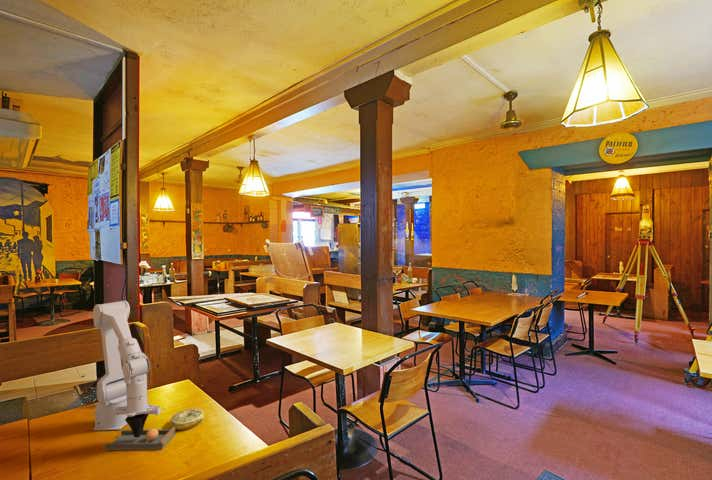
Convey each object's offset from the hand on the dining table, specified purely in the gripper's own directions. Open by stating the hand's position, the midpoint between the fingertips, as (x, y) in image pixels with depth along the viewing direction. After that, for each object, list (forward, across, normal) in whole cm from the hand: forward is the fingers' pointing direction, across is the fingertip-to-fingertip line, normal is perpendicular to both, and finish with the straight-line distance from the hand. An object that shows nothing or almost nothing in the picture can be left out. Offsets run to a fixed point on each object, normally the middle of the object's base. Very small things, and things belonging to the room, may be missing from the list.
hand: (138, 435), depth 114 cm
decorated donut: (+3, +11, +11) cm, 16 cm away
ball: (0, +5, 0) cm, 5 cm away
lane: (+2, +1, 0) cm, 2 cm away
